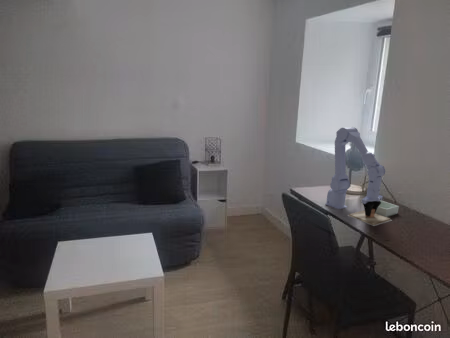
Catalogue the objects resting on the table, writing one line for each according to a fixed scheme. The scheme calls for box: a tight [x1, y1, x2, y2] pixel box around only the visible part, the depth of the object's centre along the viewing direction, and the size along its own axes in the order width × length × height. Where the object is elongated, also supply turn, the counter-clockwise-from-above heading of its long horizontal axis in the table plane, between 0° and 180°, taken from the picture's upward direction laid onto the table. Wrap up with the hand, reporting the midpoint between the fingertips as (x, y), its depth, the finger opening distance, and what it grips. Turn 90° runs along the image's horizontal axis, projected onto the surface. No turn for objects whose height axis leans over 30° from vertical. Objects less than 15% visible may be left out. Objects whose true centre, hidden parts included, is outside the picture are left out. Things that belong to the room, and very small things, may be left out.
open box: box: [375, 200, 400, 218], centre depth 184 cm, size 11×11×4 cm
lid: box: [348, 208, 391, 226], centre depth 175 cm, size 14×14×5 cm
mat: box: [346, 214, 393, 227], centre depth 176 cm, size 16×16×1 cm
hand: (369, 214), depth 175 cm, fingers open, 3 cm apart
